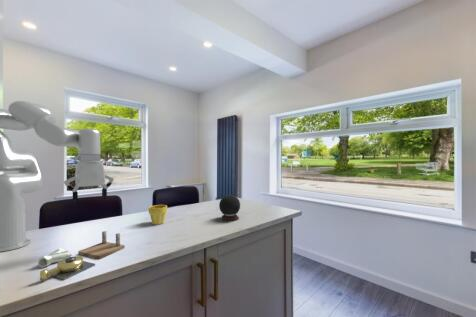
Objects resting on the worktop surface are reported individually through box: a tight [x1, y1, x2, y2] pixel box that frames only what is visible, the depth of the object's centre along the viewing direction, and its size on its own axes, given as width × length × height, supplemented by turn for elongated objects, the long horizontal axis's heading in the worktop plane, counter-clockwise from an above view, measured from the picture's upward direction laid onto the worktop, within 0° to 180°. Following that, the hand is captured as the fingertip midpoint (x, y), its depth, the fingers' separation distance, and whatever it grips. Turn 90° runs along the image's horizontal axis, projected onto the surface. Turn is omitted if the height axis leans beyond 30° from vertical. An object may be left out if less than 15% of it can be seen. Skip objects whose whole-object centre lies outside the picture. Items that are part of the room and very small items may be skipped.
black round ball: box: [218, 194, 241, 222], centre depth 137 cm, size 13×13×15 cm
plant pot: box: [148, 204, 168, 226], centre depth 128 cm, size 10×10×10 cm
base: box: [51, 260, 96, 281], centre depth 74 cm, size 10×10×1 cm
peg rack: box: [77, 230, 126, 260], centre depth 89 cm, size 12×11×6 cm
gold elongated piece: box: [39, 255, 84, 281], centre depth 72 cm, size 7×12×3 cm, turn 159°
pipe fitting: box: [37, 247, 73, 268], centre depth 80 cm, size 8×4×7 cm
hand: (90, 199), depth 91 cm, fingers open, 9 cm apart
